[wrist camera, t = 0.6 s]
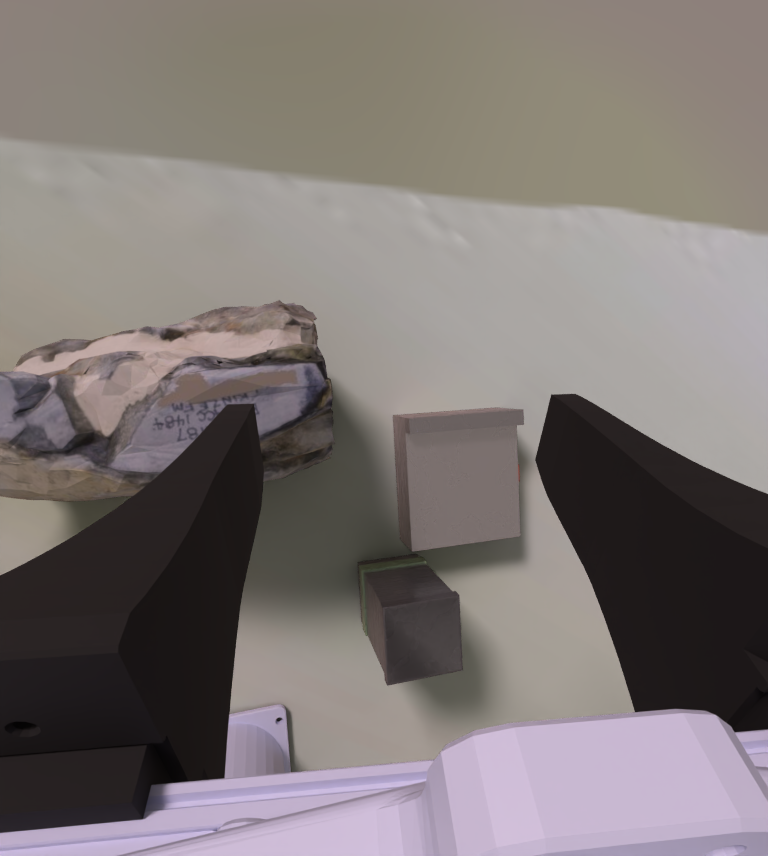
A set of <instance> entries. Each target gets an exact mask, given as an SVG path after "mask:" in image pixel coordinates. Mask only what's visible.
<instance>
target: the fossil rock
mask: <svg viewBox="0 0 768 856" xmlns="http://www.w3.org/2000/svg"><path fill="white" fill-rule="evenodd" d="M316 319H317V318H316V317H315V315H314V314H313V312H310V311H307V310H306V309H305V308H304V307H303V306H301V305H295V304H294V303H291V304H284V303H282V302H281V301H280V300H279V301H276V302H274V303H271V304H265V305H263V306H261V307H245V306H241V307H223V308H219V309H215V310H212V311H209V312H206V313H204V314H201V315H199V316H196V317H194V318H191V319H189V320H186V321H184V322H181V323H179V324H175V325H170V326H165V327H160V328H157V327H143V328H139V329H135V330H129V331H123V332H119V333H116V334H113V335H109V336H106V337H102V338H99V339H95V340H92V341H91V340H76V339H63V340H60V341H58V342H55V343H52V344H49V345H46V346H43V347H39V348H36V349H34V350H32V351H30V352H28V353H26V354H24V355H22V356H21V358H20V359H19V361H18V363H17V364H16V366H15V368H14V371H13V372H0V496H3V497H10V498H18V499H27V500H53V501H68V502H70V501H89V500H100V499H107V498H113V497H120V496H134V495H135V494H136V493H138V492H139V491H140V490H141V489H143V488H144V487H145V486H146V485H148V484H149V483H150V482H151V481H152V480H154V479H155V478H156V477H157V476H158V475H159V474H160V473H161V472H162V471H163V470H165V469H166V468H167V467H168V466H169V465H170V464H171V463H172V462H173V461H174V460H175V459H176V458H177V457H178V456H179V455H180V454H181V453H182V452H183V451H184V450H185V449H186V448H187V447H188V446H189V445H190V444H191V443H192V442H193V441H194V440H195V439H196V438H197V437H198V436H199V435H200V434H201V432H202V431H203V430H204V429H205V428H206V427H207V426H208V425H209V424H210V423H211V421H212V420H213V419H214V418H215V417H216V416H217V415H218V414H219V413H220V412H221V411H222V410H223V409H224V407H225V406H226V405H227V404H254V407H255V414H256V420H257V427H258V434H259V440H260V447H261V453H262V460H263V467H264V479H263V481H269V480H274V479H280V478H285V477H287V476H288V475H291V474H293V473H295V472H297V471H300V470H302V469H306V468H308V467H310V466H312V465H314V464H317V463H320V462H322V461H324V460H327V459H329V458H330V457H329V456H330V455H331V454H332V444H335V441H334V437H333V433H332V426H333V418H332V414H333V411H332V409H331V407H332V399H333V395H332V386H331V380H330V379H329V378H327V372H326V365H325V360H324V358H323V356H322V354H321V352H320V350H319V348H318V347H317V339H318V336H317V331H316V326H315V324H314V320H316Z"/></svg>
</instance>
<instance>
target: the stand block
mask: <svg viewBox="0 0 768 856" xmlns="http://www.w3.org/2000/svg"><path fill="white" fill-rule="evenodd" d="M517 425H524V415H523V410H521V409H508V408H484V409H471V410H457V411H444V412H431V413H417V414H404V415H393V426H394V444H395V462H396V479H397V497H398V514H399V532H400V539H401V541H402V542H403V543H404V544H405V545H406V546H407V547H408V548H409V549H410V550H411V551H412V552H413V551H420V550H427V549H434V548H442V547H449V546H456V545H463V544H470V543H477V542H484V541H491V540H498V539H505V538H512V537H519V536H520V510H519V481H520V474H519V464H518V452H517Z"/></svg>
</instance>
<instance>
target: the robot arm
mask: <svg viewBox="0 0 768 856" xmlns="http://www.w3.org/2000/svg"><path fill="white" fill-rule="evenodd" d="M535 460H536V464H537V467H538V470H539V473H540V476H541V480H542V482H543V485H544V488H545V491H546V494H547V496H548V498H549V500H550V502H551V504H552V506H553V508H554V510H555V512H556V514H557V516H558V518H559V520H560V522H561V524H562V526H563V528H564V529H565V531H566V533H567V535H568V537H569V539H570V541H571V543H572V545H573V547H574V549H575V551H576V553H577V555H578V557H579V559H580V560H581V562H582V564H583V566H584V568H585V571H586V573H587V575H588V577H589V579H590V581H591V584H592V586H593V589H594V592H595V594H596V597H597V599H598V602H599V605H600V607H601V610H602V613H603V615H604V618H605V621H606V623H607V626H608V629H609V632H610V635H611V638H612V641H613V644H614V647H615V649H616V652H617V655H618V658H619V661H620V664H621V668H622V671H623V674H624V677H625V681H626V684H627V687H628V690H629V693H630V697H631V700H632V703H633V707H634V710H635V712H633V713H621V714H609V715H598V716H586V717H574V718H562V719H551V720H539V721H527V722H515V723H508V724H503V725H498V726H493V727H488V728H484V729H479V730H474V731H472V732H470V733H468V734H466V735H464V736H462V737H460V738H458V739H456V740H454V741H452V742H450V743H448V744H446V745H445V746H444V748H443V749H442V751H441V752H440V753H439V755H438V756H437V757H436V759H434V760H423V761H412V762H401V763H390V764H379V765H368V766H357V767H345V768H334V769H323V770H312V771H301V772H291V767H290V755H289V743H288V730H287V718H286V709H285V707H284V706H283V705H281V704H278V705H273V706H268V707H263V708H258V709H253V710H248V711H243V712H238V713H233V714H229V712H230V700H231V689H232V678H233V668H234V658H235V648H236V639H237V630H238V621H239V612H240V604H241V598H242V592H243V587H244V582H245V578H246V573H247V569H248V564H249V560H250V555H251V551H252V546H253V542H254V537H255V533H256V528H257V524H258V519H259V514H260V510H261V502H262V492H263V479H264V467H263V460H262V453H261V447H260V440H259V434H258V427H257V420H256V414H255V407H254V404H227V405H226V406H225V407H224V409H223V410H222V411H221V412H220V413H219V414H218V415H217V416H216V417H215V418H214V419H213V420H212V421H211V423H210V424H209V425H208V426H207V427H206V428H205V429H204V430H203V431H202V432H201V434H200V435H199V436H198V437H197V438H196V439H195V440H194V441H193V442H192V443H191V444H190V445H189V446H188V447H187V448H186V449H185V450H184V451H183V452H182V453H181V454H180V455H179V456H178V457H177V458H176V459H175V460H174V461H173V462H172V463H171V464H170V465H169V466H168V467H167V468H166V469H165V470H163V471H162V472H161V473H160V474H159V475H158V476H157V477H156V478H155V479H154V480H152V481H151V482H150V483H149V484H148V485H146V486H145V487H144V488H143V489H141V490H140V491H139V492H138V493H136V494H135V495H134V496H132V497H131V498H130V499H128V500H127V501H126V502H124V503H123V504H122V505H120V506H119V507H118V508H116V509H115V510H113V511H112V512H110V513H109V514H107V515H106V516H104V517H103V518H101V519H100V520H98V521H97V522H95V523H94V524H92V525H90V526H89V527H87V528H86V529H84V530H83V531H81V532H80V533H78V534H77V535H75V536H73V537H72V538H70V539H68V540H67V541H65V542H63V543H61V544H60V545H58V546H56V547H54V548H53V549H51V550H49V551H47V552H45V553H44V554H42V555H40V556H38V557H36V558H34V559H32V560H30V561H29V562H27V563H25V564H23V565H21V566H19V567H17V568H15V569H13V570H11V571H9V572H7V573H5V574H3V575H0V856H768V494H766V493H764V492H761V491H758V490H756V489H753V488H751V487H748V486H746V485H744V484H741V483H739V482H736V481H734V480H732V479H730V478H727V477H725V476H723V475H721V474H719V473H716V472H714V471H712V470H710V469H708V468H706V467H703V466H701V465H699V464H697V463H695V462H693V461H691V460H689V459H688V458H686V457H684V456H682V455H680V454H678V453H676V452H675V451H673V450H671V449H669V448H667V447H665V446H663V445H662V444H660V443H658V442H657V441H655V440H653V439H651V438H650V437H648V436H646V435H644V434H643V433H641V432H639V431H638V430H636V429H634V428H633V427H631V426H630V425H628V424H626V423H625V422H623V421H621V420H620V419H618V418H616V417H615V416H613V415H612V414H610V413H608V412H607V411H605V410H603V409H602V408H600V407H598V406H597V405H595V404H593V403H592V402H590V401H588V400H586V399H584V398H583V397H581V396H578V395H576V394H559V395H551V398H550V402H549V406H548V411H547V415H546V419H545V423H544V427H543V431H542V435H541V439H540V443H539V447H538V451H537V455H536V459H535ZM279 717H280V718H282V720H281V721H277V720H276V719H277V718H279Z"/></svg>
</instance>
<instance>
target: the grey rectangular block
mask: <svg viewBox="0 0 768 856" xmlns="http://www.w3.org/2000/svg"><path fill="white" fill-rule="evenodd" d="M358 575H359V591H360V606H361V621H362V624H363V630H364V633H365V635H366V636H368V637H369V639H370V642H371V644H372V646H373V649H374V651H375V653H376V655H377V658H378V660H379V662H380V664H381V667H382V669H383V671H384V675H385V681H386V684H387V685H392V684H397V683H402V682H407V681H412V680H417V679H422V678H427V677H432V676H437V675H442V674H447V673H451V672H456V671H461V670H463V666H462V645H461V623H460V602H459V594H458V593H457V592H456V591H453V592H452V591H451V590H450V589H449V587H448V586H447V585H446V584H445V583H444V582H443V581H442V580H441V579H440V578H439V577H438V576H437V575H436V574H435V573H434V572H433V571H432V570H431V569H430V568H429V566H428V565H427V564H426V560H425V559H424V558H423V557H419V556H418V555H417V554H411V555H404V556H397V557H390V558H383V559H376V560H369V561H362V562H358Z"/></svg>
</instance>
